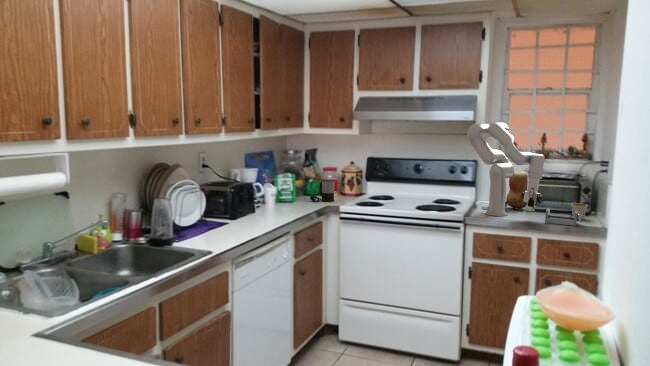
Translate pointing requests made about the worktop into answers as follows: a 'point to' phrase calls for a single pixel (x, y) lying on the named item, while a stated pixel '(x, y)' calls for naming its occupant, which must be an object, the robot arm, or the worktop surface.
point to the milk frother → (325, 191)
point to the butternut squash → (517, 190)
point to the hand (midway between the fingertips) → (531, 205)
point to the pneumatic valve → (537, 200)
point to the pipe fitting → (562, 219)
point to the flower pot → (579, 209)
